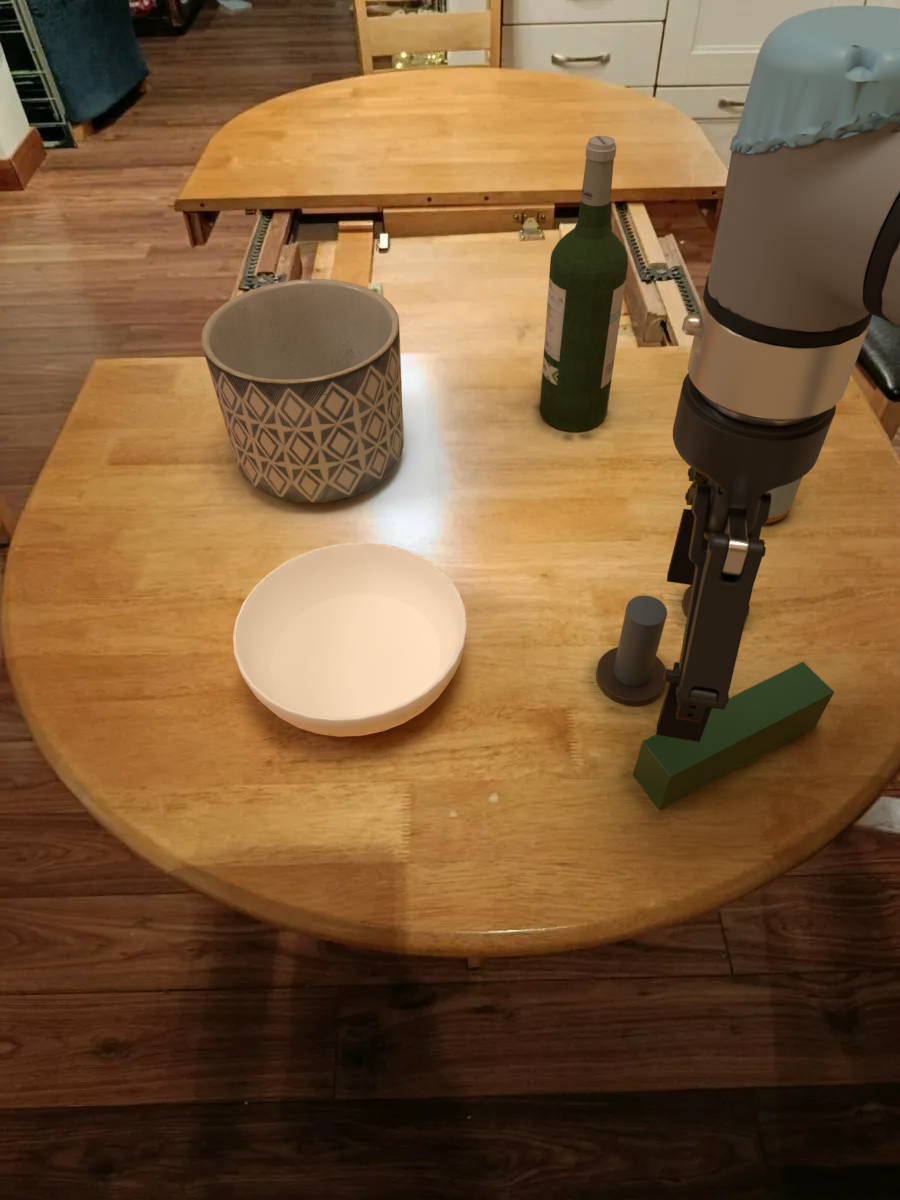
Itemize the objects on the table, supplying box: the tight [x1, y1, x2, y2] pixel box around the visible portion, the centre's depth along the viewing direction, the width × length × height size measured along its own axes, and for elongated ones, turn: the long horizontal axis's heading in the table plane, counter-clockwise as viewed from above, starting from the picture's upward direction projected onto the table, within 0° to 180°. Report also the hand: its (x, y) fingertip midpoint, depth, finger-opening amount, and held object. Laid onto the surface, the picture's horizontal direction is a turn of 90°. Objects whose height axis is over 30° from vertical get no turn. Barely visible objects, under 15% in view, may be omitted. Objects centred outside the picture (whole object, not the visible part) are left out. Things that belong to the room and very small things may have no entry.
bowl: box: [232, 541, 468, 738], centre depth 73 cm, size 20×20×6 cm
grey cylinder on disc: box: [595, 594, 668, 707], centre depth 71 cm, size 6×6×9 cm
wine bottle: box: [539, 135, 629, 433], centre depth 89 cm, size 8×8×30 cm
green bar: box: [632, 661, 835, 811], centre depth 67 cm, size 4×16×5 cm, turn 118°
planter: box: [200, 278, 405, 504], centre depth 89 cm, size 19×19×16 cm
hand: (681, 651), depth 58 cm, fingers open, 13 cm apart
